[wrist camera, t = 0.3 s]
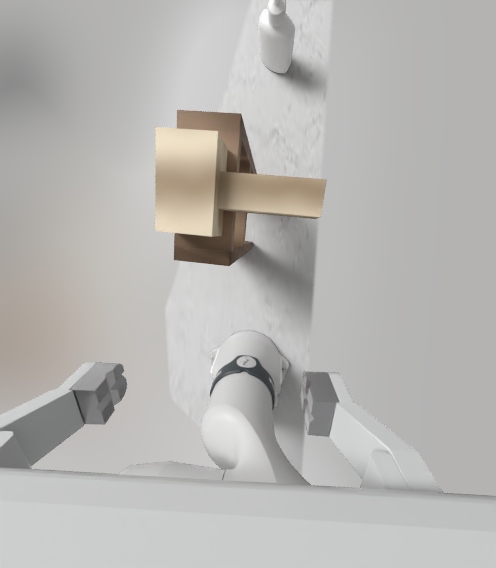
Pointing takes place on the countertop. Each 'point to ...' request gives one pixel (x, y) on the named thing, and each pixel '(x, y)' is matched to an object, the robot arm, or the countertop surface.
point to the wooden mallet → (219, 186)
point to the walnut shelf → (234, 223)
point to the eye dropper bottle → (276, 37)
